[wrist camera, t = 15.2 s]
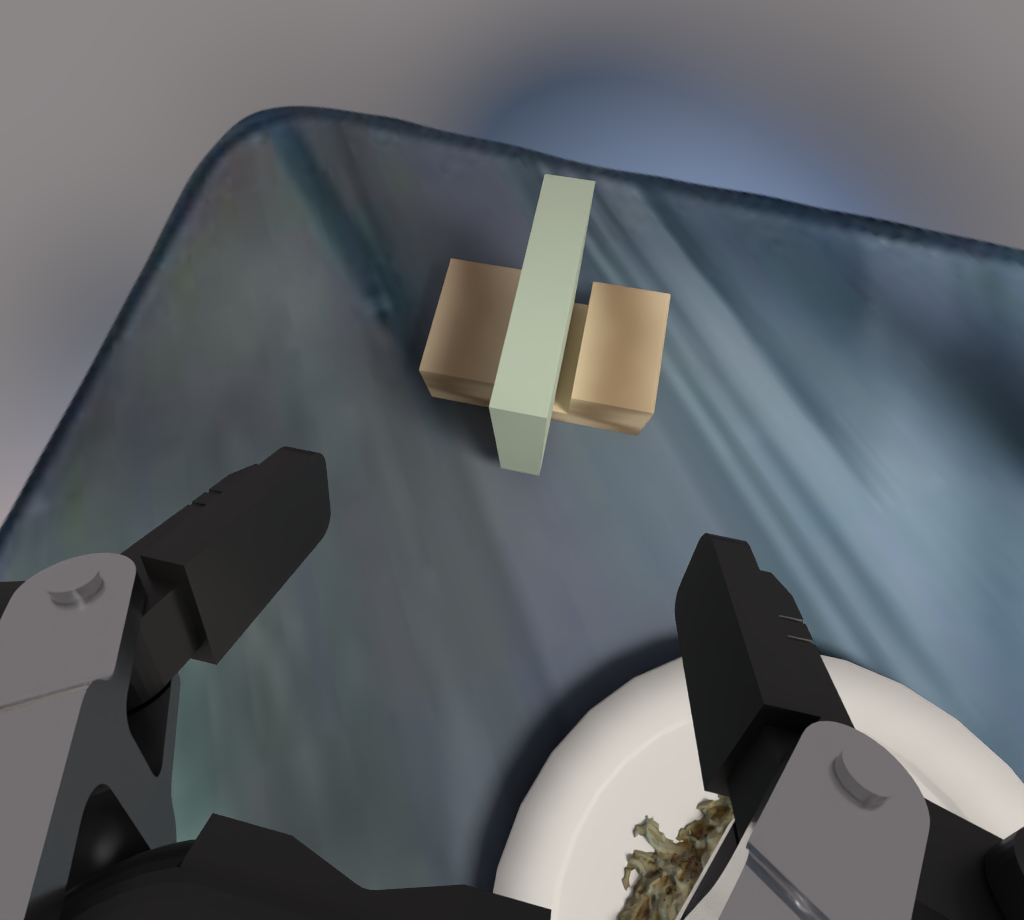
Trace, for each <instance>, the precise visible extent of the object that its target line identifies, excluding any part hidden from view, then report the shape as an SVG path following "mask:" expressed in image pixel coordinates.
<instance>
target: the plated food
mask: <svg viewBox="0 0 1024 920" xmlns="http://www.w3.org/2000/svg"><path fill="white" fill-rule="evenodd" d="M820 656H821V658H822V660H823V662H824V664H825V666H826V668H827V670H828V673H829V675H830V677H831V679H832V681H833V683H834V685H835V687H836V689H837V691H838V694H839V696H840V698H841V700H842V702H843V704H844V706H845V708H846V710H847V713H848V715H849V717H850V719H851V721H852V723H853V725H854V727H855V729H856V730H858V731H860V732H862V733H864V734H866V735H867V736H869V737H870V738H872V739H873V740H875V741H876V742H877V743H879V744H880V745H881V746H883V747H884V748H885V749H886V750H887V751H889V752H890V753H891V754H892V755H893V756H894V757H895V758H896V759H897V760H898V761H899V762H900V763H901V764H902V765H903V767H904V768H905V769H906V770H907V771H908V773H909V774H910V775H911V777H912V778H913V779H914V781H915V783H916V784H917V786H918V787H919V789H920V791H921V793H922V795H923V797H924V798H926V799H928V800H929V801H931V802H933V803H935V804H937V805H939V806H941V807H942V808H944V809H946V810H948V811H950V812H952V813H954V814H956V815H958V816H960V817H962V818H964V819H965V820H967V821H969V822H971V823H973V824H975V825H977V826H979V827H981V828H983V829H985V830H987V831H988V832H990V833H992V834H994V835H996V836H998V837H1000V838H1002V839H1005V838H1007V837H1008V836H1010V835H1011V834H1013V833H1014V832H1016V831H1017V830H1019V829H1020V828H1022V827H1024V784H1023V783H1022V781H1021V780H1020V779H1019V778H1018V777H1017V775H1016V774H1015V773H1014V772H1013V771H1012V769H1011V768H1010V767H1009V766H1008V765H1007V764H1006V763H1005V762H1004V761H1003V760H1001V759H1000V758H999V757H998V756H997V755H996V754H995V753H994V752H993V751H991V750H990V749H989V748H988V747H987V746H986V745H985V744H984V743H982V742H981V741H980V740H979V739H978V738H977V737H976V736H975V735H974V734H972V733H971V732H970V731H969V730H968V729H967V728H966V727H965V726H963V725H962V724H961V723H960V722H959V721H958V720H957V719H955V718H954V717H952V716H951V715H949V714H948V713H946V712H944V711H943V710H941V709H940V708H938V707H937V706H935V705H934V704H932V703H930V702H929V701H927V700H926V699H924V698H923V697H921V696H920V695H918V694H916V693H915V692H913V691H912V690H910V689H909V688H907V687H906V686H904V685H903V684H900V683H898V682H896V681H893V680H891V679H889V678H886V677H884V676H882V675H879V674H877V673H875V672H872V671H870V670H867V669H865V668H863V667H860V666H858V665H856V664H853V663H851V662H849V661H846V660H842V659H838V658H833V657H829V656H824V655H820ZM733 819H734V814H733V809H732V804H731V799H730V797H727V796H723V795H719V794H715V793H711V792H707V791H704V786H703V780H702V774H701V768H700V762H699V756H698V750H697V744H696V739H695V733H694V727H693V721H692V715H691V709H690V703H689V697H688V691H687V685H686V679H685V673H684V667H683V661H682V657H679V658H677V659H675V660H672V661H670V662H668V663H666V664H663V665H661V666H659V667H656V668H654V669H652V670H650V671H647V672H645V673H643V674H641V675H638V676H636V677H634V678H632V679H631V680H629V681H628V682H627V683H625V684H624V685H623V686H621V687H620V688H619V689H617V690H616V691H614V692H613V693H612V694H610V695H609V696H608V697H606V698H605V699H603V700H602V701H601V702H599V703H598V704H597V705H595V706H594V707H593V708H591V709H590V710H589V711H588V712H587V713H586V714H585V715H584V716H583V718H582V719H581V720H580V721H579V722H578V723H577V724H576V725H575V726H574V728H573V729H572V730H571V731H570V732H569V733H568V734H567V735H566V737H565V738H564V739H563V740H562V741H561V742H560V743H559V744H558V745H557V747H556V748H555V749H554V750H553V751H552V752H551V754H550V756H549V757H548V759H547V761H546V762H545V764H544V766H543V767H542V769H541V771H540V772H539V774H538V776H537V778H536V779H535V781H534V783H533V784H532V786H531V788H530V789H529V791H528V793H527V794H526V796H525V798H524V799H523V801H522V803H521V805H520V807H519V810H518V813H517V815H516V818H515V821H514V823H513V826H512V829H511V832H510V834H509V837H508V840H507V843H506V845H505V848H504V851H503V853H502V856H501V859H500V862H499V864H498V867H497V872H496V878H495V883H494V889H493V893H495V894H499V895H502V896H506V897H509V898H513V899H516V900H520V901H523V902H527V903H530V904H534V905H537V906H541V907H544V908H548V909H551V920H675V919H676V918H677V916H678V914H679V912H680V910H681V909H682V907H683V905H684V903H685V901H686V900H687V898H688V896H689V894H690V893H691V891H692V889H693V887H694V885H695V884H696V882H697V880H698V878H699V877H700V875H701V873H702V871H703V869H704V868H705V866H706V864H707V862H708V861H709V859H710V857H711V855H712V853H713V852H714V850H715V848H716V846H717V845H718V843H719V841H720V839H721V837H722V836H723V834H724V832H725V830H726V829H727V827H728V825H729V824H730V823H731V821H732V820H733Z"/></svg>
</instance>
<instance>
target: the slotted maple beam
mask: <svg viewBox="0 0 1024 920" xmlns="http://www.w3.org/2000/svg"><path fill="white" fill-rule="evenodd" d="M521 271H522V270H520V269H514V268H508V267H502V266H496V265H489V264H483V263H477V262H471V261H465V260H459V259H453V258H451V261H450V264H449V267H448V271H447V274H446V278H445V281H444V285H443V288H442V292H441V295H440V299H439V302H438V305H437V309H436V312H435V316H434V319H433V323H432V326H431V330H430V333H429V337H428V340H427V343H426V347H425V350H424V354H423V357H422V361H421V364H420V368H419V371H420V373H421V375H422V377H423V379H424V381H425V383H426V386H427V388H428V390H429V392H430V394H431V396H432V397H437V398H442V399H448V400H453V401H458V402H463V403H469V404H474V405H479V406H485V407H489V404H490V400H491V396H492V392H493V388H494V384H495V380H496V375H497V371H498V367H499V363H500V359H501V355H502V350H503V346H504V342H505V338H506V334H507V330H508V325H509V321H510V317H511V313H512V309H513V305H514V300H515V296H516V292H517V288H518V284H519V280H520V276H521ZM670 295H671V294H667V293H660V292H654V291H648V290H642V289H636V288H630V287H624V286H618V285H612V284H605V283H599V282H593V286H592V290H591V295H590V299H589V304H588V305H584V304H579V303H574V306H573V311H572V316H571V321H570V326H569V331H568V336H567V341H566V346H565V351H564V356H563V361H562V366H561V371H560V376H559V381H558V386H557V391H556V396H555V401H554V406H553V411H552V416H551V419H553V420H558V421H564V422H569V423H574V424H580V425H585V426H590V427H595V428H601V429H606V430H611V431H617V432H622V433H627V434H632V435H638V434H639V433H640V431H641V430H642V429H643V427H644V426H645V425H646V423H647V422H648V421H649V419H650V418H651V417H652V415H653V414H654V409H655V402H656V395H657V388H658V381H659V374H660V367H661V359H662V352H663V345H664V338H665V331H666V324H667V317H668V310H669V303H670Z"/></svg>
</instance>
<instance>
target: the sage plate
mask: <svg viewBox="0 0 1024 920" xmlns="http://www.w3.org/2000/svg"><path fill="white" fill-rule="evenodd" d="M594 187H595V181H590V180H583V179H576V178H569V177H562V176H555V175H548V174H545V176H544V180H543V184H542V188H541V192H540V196H539V201H538V205H537V209H536V213H535V217H534V221H533V226H532V230H531V234H530V238H529V242H528V246H527V251H526V255H525V259H524V263H523V267H522V271H521V276H520V280H519V284H518V288H517V292H516V296H515V300H514V305H513V309H512V313H511V317H510V321H509V325H508V330H507V334H506V338H505V342H504V346H503V350H502V355H501V359H500V363H499V367H498V371H497V375H496V380H495V384H494V388H493V392H492V396H491V400H490V404H489V410H490V415H491V420H492V425H493V430H494V435H495V440H496V445H497V450H498V455H499V460H500V465H501V468H504V469H509V470H514V471H519V472H524V473H529V474H534V475H540V470H541V465H542V460H543V455H544V450H545V445H546V440H547V435H548V430H549V425H550V421H551V416H552V411H553V406H554V401H555V396H556V391H557V386H558V381H559V376H560V371H561V366H562V361H563V356H564V351H565V346H566V341H567V336H568V331H569V326H570V321H571V316H572V311H573V306H574V301H575V295H576V289H577V284H578V278H579V272H580V266H581V261H582V255H583V249H584V244H585V238H586V232H587V227H588V221H589V215H590V209H591V204H592V198H593V192H594Z"/></svg>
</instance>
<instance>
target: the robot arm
mask: <svg viewBox="0 0 1024 920" xmlns="http://www.w3.org/2000/svg"><path fill="white" fill-rule="evenodd" d="M330 514H331V511H330V500H329V490H328V480H327V470H326V462H325V458H324V457H323V455H322V454H320V453H316V452H311V451H306V450H301V449H296V448H292V447H282V448H280V449H279V450H277V451H276V452H275V453H274V454H272V455H271V456H270V457H268V458H267V459H266V460H264V461H263V462H262V463H260V464H259V465H258V464H254V465H252V466H249V467H247V468H244V469H242V470H240V471H237V472H235V473H232V474H230V475H228V476H227V477H225V478H224V479H223V480H221V481H220V482H219V483H217V484H216V485H214V486H213V487H212V488H210V489H209V492H208V493H206V492H205V493H203V494H202V495H201V496H199V497H198V498H197V499H195V500H194V501H193V502H192V505H187V506H186V507H184V508H183V509H182V510H180V511H179V512H177V513H176V514H175V515H173V516H172V517H171V518H169V519H168V520H166V521H165V522H164V523H162V524H161V525H160V526H158V527H157V528H155V529H154V530H153V531H151V532H150V533H149V534H147V535H146V536H144V537H143V538H142V539H140V540H139V541H138V542H136V543H135V544H133V545H132V546H131V547H129V548H128V549H127V550H125V551H124V552H123V553H121V554H116V553H94V554H87V555H82V556H78V557H74V558H71V559H67V560H64V561H62V562H59V563H57V564H54V565H52V566H50V567H48V568H46V569H44V570H42V571H40V572H39V573H37V574H35V575H34V576H32V577H31V578H29V579H28V580H27V581H16V582H0V920H551V909H548V908H544V907H541V906H537V905H534V904H530V903H527V902H523V901H520V900H516V899H513V898H509V897H506V896H502V895H499V894H495V893H492V892H488V891H485V890H481V889H478V888H474V887H471V886H467V885H450V886H434V887H419V888H404V889H388V890H368V889H364V888H362V887H360V886H358V885H357V884H356V883H354V882H353V881H352V880H350V879H349V878H348V877H346V876H345V875H344V874H342V873H341V872H340V871H338V870H337V869H336V868H334V867H333V866H332V865H330V864H329V863H328V862H326V861H325V860H324V859H322V858H321V857H320V856H318V855H317V854H316V853H314V852H313V851H312V850H310V849H309V848H308V847H306V846H305V845H304V844H302V843H301V842H300V841H298V840H297V839H296V838H294V837H293V836H291V835H288V834H284V833H281V832H277V831H274V830H270V829H267V828H263V827H260V826H256V825H253V824H249V823H246V822H242V821H239V820H235V819H232V818H228V817H225V816H221V815H218V814H214V813H213V814H212V815H211V817H210V818H209V820H208V822H207V823H206V825H205V826H204V828H203V829H202V831H201V832H200V834H199V836H198V837H197V839H196V840H188V841H183V842H178V843H176V824H175V816H174V811H173V806H172V797H171V779H172V769H173V758H174V747H175V736H176V726H177V715H178V704H179V693H180V676H179V673H178V671H179V670H180V669H181V668H182V667H183V666H184V665H185V664H186V662H187V661H188V660H189V659H190V658H192V659H196V660H200V661H204V662H208V663H212V664H216V665H217V664H218V662H219V661H220V660H221V659H222V658H223V656H224V655H225V654H226V653H227V652H228V650H229V649H230V648H231V647H232V646H233V645H234V643H235V642H236V641H237V640H238V639H239V637H240V636H241V635H242V634H243V633H244V631H245V630H246V629H247V628H248V627H249V625H250V624H251V623H252V622H253V621H254V619H255V618H256V617H257V616H258V615H259V613H260V612H261V611H262V610H263V609H264V608H265V606H266V605H267V604H268V603H269V602H270V600H271V599H272V598H273V597H274V596H275V594H276V593H277V592H278V591H279V590H280V588H281V587H282V586H283V585H284V584H285V582H286V581H287V580H288V579H289V578H290V576H291V575H292V574H293V573H294V572H295V570H296V569H297V568H298V567H299V566H300V565H301V563H302V562H303V561H304V560H305V559H306V557H307V556H308V555H309V554H310V553H311V551H312V550H313V549H314V548H315V547H316V545H317V544H318V543H319V542H320V541H321V539H322V538H323V536H324V535H325V533H326V531H327V528H328V525H329V521H330ZM675 620H676V626H677V632H678V638H679V644H680V650H681V656H682V661H683V667H684V673H685V679H686V685H687V691H688V697H689V703H690V709H691V715H692V721H693V727H694V733H695V739H696V744H697V750H698V756H699V762H700V768H701V774H702V780H703V786H704V791H707V792H711V793H715V794H719V795H723V796H727V797H730V799H731V804H732V809H733V814H734V819H733V820H732V821H731V823H730V824H729V825H728V827H727V829H726V830H725V832H724V834H723V836H722V837H721V839H720V841H719V843H718V845H717V846H716V848H715V850H714V852H713V853H712V855H711V857H710V859H709V861H708V862H707V864H706V866H705V868H704V869H703V871H702V873H701V875H700V877H699V878H698V880H697V882H696V884H695V885H694V887H693V889H692V891H691V893H690V894H689V896H688V898H687V900H686V901H685V903H684V905H683V907H682V909H681V910H680V912H679V914H678V916H677V918H676V919H675V920H1024V827H1022V828H1020V829H1019V830H1017V831H1016V832H1014V833H1013V834H1011V835H1010V836H1008V837H1007V838H1005V839H1002V838H1000V837H998V836H996V835H994V834H992V833H990V832H988V831H987V830H985V829H983V828H981V827H979V826H977V825H975V824H973V823H971V822H969V821H967V820H965V819H964V818H962V817H960V816H958V815H956V814H954V813H952V812H950V811H948V810H946V809H944V808H942V807H941V806H939V805H937V804H935V803H933V802H931V801H929V800H928V799H926V798H924V797H923V795H922V793H921V791H920V789H919V787H918V786H917V784H916V783H915V781H914V779H913V778H912V777H911V775H910V774H909V773H908V771H907V770H906V769H905V768H904V767H903V765H902V764H901V763H900V762H899V761H898V760H897V759H896V758H895V757H894V756H893V755H892V754H891V753H890V752H889V751H887V750H886V749H885V748H884V747H883V746H881V745H880V744H879V743H877V742H876V741H875V740H873V739H872V738H870V737H869V736H867V735H866V734H864V733H862V732H860V731H858V730H856V729H855V727H854V725H853V723H852V721H851V719H850V717H849V715H848V713H847V710H846V708H845V706H844V704H843V702H842V700H841V698H840V696H839V694H838V691H837V689H836V687H835V685H834V683H833V681H832V679H831V677H830V675H829V673H828V670H827V668H826V666H825V664H824V662H823V660H822V658H821V656H820V654H819V651H818V649H817V647H816V645H813V644H812V641H813V639H812V637H811V635H810V632H809V630H808V628H807V626H806V624H803V618H802V616H801V613H800V611H799V609H798V607H797V605H796V603H795V601H794V599H793V597H792V595H791V594H790V593H789V592H788V591H787V589H786V588H785V587H784V586H783V585H782V584H781V583H780V582H779V581H778V580H777V579H776V578H775V576H774V575H773V574H772V573H770V572H765V571H760V569H759V567H758V565H757V562H756V560H755V558H754V555H753V553H752V550H751V548H750V546H749V544H748V543H747V542H746V541H743V540H738V539H733V538H728V537H723V536H718V535H713V534H708V533H705V534H704V535H703V536H702V537H701V538H700V540H699V542H698V544H697V547H696V549H695V551H694V554H693V556H692V558H691V561H690V563H689V565H688V568H687V570H686V572H685V574H684V577H683V579H682V581H681V584H680V586H679V589H678V592H677V596H676V603H675Z"/></svg>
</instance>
